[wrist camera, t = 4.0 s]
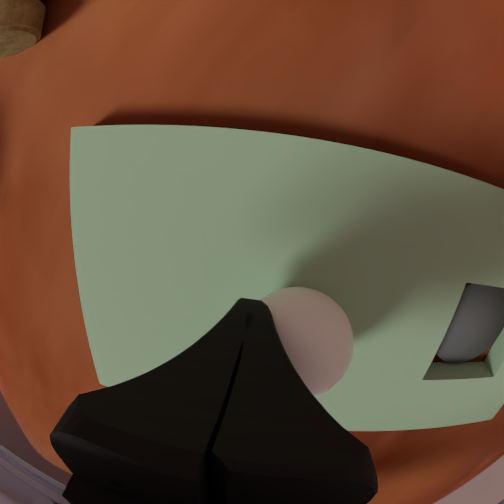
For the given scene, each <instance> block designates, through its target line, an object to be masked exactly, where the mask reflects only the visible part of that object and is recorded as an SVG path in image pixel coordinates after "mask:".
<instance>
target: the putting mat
mask: <svg viewBox="0 0 504 504" xmlns="http://www.w3.org/2000/svg"><path fill="white" fill-rule="evenodd" d="M70 206H71V224H72V237H73V248H74V257H75V266H76V274H77V281H78V288H79V294H80V300H81V306H82V311H83V316H84V322H85V326H86V331H87V336H88V340H89V345H90V349H91V353H92V357H93V361H94V365H95V369H96V372H97V376H98V379H99V383H100V384H102V385H104V386H107V387H110V386H113V385H116V384H119V383H122V382H125V381H127V380H130V379H132V378H135V377H137V376H140V375H142V374H144V373H146V372H149V371H151V370H152V369H154V368H156V367H158V366H160V365H162V364H163V363H165V362H167V361H169V360H170V359H172V358H174V357H175V356H177V355H178V354H180V353H181V352H183V351H184V350H186V349H187V348H188V347H190V346H191V345H192V344H194V343H195V342H196V341H197V340H199V339H200V338H201V337H202V336H203V335H205V334H206V333H207V332H208V331H209V330H210V329H211V328H213V327H214V326H215V325H216V324H217V323H218V322H219V321H220V320H221V319H222V318H223V317H224V316H225V314H226V313H227V312H228V311H229V310H230V309H231V308H232V307H233V305H234V304H235V303H236V301H237V300H238V299H240V298H248V299H254V300H260V299H261V298H262V297H264V296H266V295H267V294H269V293H271V292H273V291H276V290H279V289H283V288H288V287H305V288H311V289H314V290H317V291H319V292H322V293H324V294H326V295H327V296H329V297H330V298H332V299H333V300H334V301H335V302H336V303H337V304H338V305H339V306H340V307H341V308H342V310H343V311H344V312H345V314H346V316H347V317H348V320H349V322H350V324H351V328H352V331H353V339H354V347H353V355H352V358H351V362H350V364H349V367H348V369H347V371H346V372H345V374H344V375H343V377H342V378H341V380H340V381H339V382H338V383H337V384H336V385H335V386H334V387H333V388H331V389H330V390H329V391H327V392H326V393H324V394H322V395H320V396H318V397H315V398H316V399H317V400H318V401H319V402H320V404H321V405H322V406H323V407H324V408H325V409H326V411H327V412H328V413H329V414H330V415H331V416H332V417H333V418H334V419H335V420H336V421H337V422H338V423H339V424H340V425H341V426H342V427H343V428H345V429H346V430H347V431H396V430H414V429H427V428H437V427H446V426H454V425H461V424H468V423H474V422H480V421H486V420H491V419H493V417H494V416H495V415H496V413H497V412H498V411H499V409H500V408H501V407H502V405H503V404H504V189H502V188H499V187H496V186H494V185H491V184H488V183H486V182H483V181H480V180H477V179H474V178H471V177H468V176H465V175H462V174H459V173H456V172H453V171H450V170H447V169H443V168H440V167H437V166H433V165H430V164H426V163H423V162H419V161H416V160H412V159H408V158H404V157H400V156H396V155H392V154H388V153H384V152H380V151H375V150H371V149H366V148H361V147H357V146H352V145H347V144H341V143H336V142H331V141H325V140H319V139H313V138H307V137H300V136H293V135H286V134H279V133H271V132H262V131H253V130H243V129H232V128H219V127H204V126H184V125H104V126H84V127H71V142H70ZM466 282H467V284H466ZM493 343H494V344H493ZM492 344H493V346H492V348H491V350H490V351H489V353H488V355H487V357H486V359H485V360H484V362H466V361H469V360H471V359H474V358H475V357H477V356H479V355H480V354H482V353H483V352H484V351H486V350H487V349H488V348H489V347H490V346H491V345H492ZM435 354H437V355H438V357H439V358H440V359H442V360H443V361H445V362H432V360H433V358H434V356H435Z"/></svg>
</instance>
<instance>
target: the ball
mask: <svg viewBox="0 0 504 504" xmlns="http://www.w3.org/2000/svg"><path fill="white" fill-rule="evenodd" d="M260 300H261V301H263V302H264V303H265V304H266V305H268V307H269V309H270V312H271V314H272V317H273V321H274V324H275V327H276V330H277V333H278V335H279V338H280V340H281V342H282V345H283V347H284V349H285V351H286V353H287V355H288V357H289V359H290V361H291V363H292V364H293V366H294V368H295V370H296V371H297V373H298V374H299V376H300V377H301V379H302V381H303V382H304V383H305V385H306V386H307V388H308V389H309V390H310V392H311V393H312V394H313V395H314V397H318V396H320V395H322V394H324V393H326V392H327V391H329V390H330V389H331V388H333V387H334V386H335V385H336V384H337V383H338V382H339V381H340V380H341V378H342V377H343V375H344V374H345V372H346V371H347V369H348V367H349V364H350V362H351V358H352V355H353V347H354V339H353V331H352V328H351V324H350V322H349V320H348V317H347V316H346V314H345V312H344V311H343V310H342V308H341V307H340V306H339V305H338V304H337V303H336V302H335V301H334V300H333V299H332V298H330V297H329V296H327V295H326V294H324V293H322V292H319V291H317V290H314V289H311V288H305V287H288V288H283V289H279V290H276V291H273V292H271V293H269V294H267V295H266V296H264V297H262V298H261V299H260Z"/></svg>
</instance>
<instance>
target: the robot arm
mask: <svg viewBox="0 0 504 504" xmlns="http://www.w3.org/2000/svg"><path fill="white" fill-rule="evenodd" d="M50 441H51V444H52V446H53V448H54V450H55V451H56V453H57V454H58V455H59V457H60V458H61V459H62V461H63V462H64V463H65V464H66V466H67V467H68V468H69V469H70V471H71V472H72V473H73V475H72V476H71V479H70V480H69V482H68V484H67V486H65V485H63V484H61V483H60V482H58V481H56V480H54V479H52V478H51V477H49V476H47V475H45V474H44V473H42V472H40V471H39V470H37V469H35V468H34V467H32V466H31V465H29V464H28V463H26V462H25V461H23V460H22V459H20V458H19V457H17V456H16V455H14V454H12V453H11V452H10V451H8V450H7V449H6V448H4V447H3V446H2V445H0V504H367V503H368V502H369V501H370V500H371V499H372V498H373V497H374V496H375V495H376V493H377V491H378V483H377V475H376V471H375V467H374V464H373V461H372V457H371V454H370V451H369V449H368V447H367V446H365V445H364V444H363V443H362V442H360V441H359V440H358V439H357V438H355V437H354V436H353V435H352V434H351V433H349V432H348V431H347V430H346V429H345V428H343V427H342V426H341V425H340V424H339V423H338V422H337V421H336V420H335V419H334V418H333V417H332V416H331V415H330V414H329V413H328V412H327V411H326V409H325V408H324V407H323V406H322V405H321V404H320V402H319V401H318V400H317V399H316V398H315V397H314V395H313V394H312V393H311V392H310V390H309V389H308V388H307V386H306V385H305V383H304V382H303V381H302V379H301V377H300V376H299V374H298V373H297V371H296V370H295V368H294V366H293V364H292V363H291V361H290V359H289V357H288V355H287V353H286V351H285V349H284V347H283V345H282V342H281V340H280V338H279V335H278V333H277V330H276V327H275V324H274V321H273V317H272V314H271V312H270V309H269V307H268V305H266V304H265V303H264V302H263V301H261V300H254V299H248V298H240V299H238V300H237V301H236V303H235V304H234V305H233V307H232V308H231V309H230V310H229V311H228V312H227V313H226V314H225V316H224V317H223V318H222V319H221V320H220V321H219V322H218V323H217V324H216V325H215V326H214V327H213V328H211V329H210V330H209V331H208V332H207V333H206V334H205V335H203V336H202V337H201V338H200V339H199V340H197V341H196V342H195V343H194V344H192V345H191V346H190V347H188V348H187V349H186V350H184V351H183V352H181V353H180V354H178V355H177V356H175V357H174V358H172V359H170V360H169V361H167V362H165V363H163V364H162V365H160V366H158V367H156V368H154V369H152V370H151V371H149V372H146V373H144V374H142V375H140V376H137V377H135V378H132V379H130V380H127V381H125V382H122V383H119V384H116V385H113V386H110V387H106V388H103V389H99V390H95V391H92V392H88V393H84V394H79V395H78V396H77V397H76V399H75V400H74V401H73V402H72V403H71V404H70V406H69V407H68V408H67V410H66V411H65V413H64V414H63V416H62V417H61V419H60V420H59V422H58V423H57V425H56V426H55V428H54V430H53V431H52V433H51V434H50ZM498 504H504V500H502V501H501V502H499V503H498Z"/></svg>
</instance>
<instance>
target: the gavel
mask: <svg viewBox="0 0 504 504" xmlns="http://www.w3.org/2000/svg"><path fill="white" fill-rule="evenodd" d="M41 1H42V0H0V57H6V56H11V55H14V54H18V53H19V52H21V51H23V50H25V49H27V48H29V47H31V46H33V45H34V44H35V43H37V42H38V41H39V40H40V38H41V33H42V27H43V22H44V16H45V11H46V8H45V6H44V4H43V3H42V2H41Z"/></svg>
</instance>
